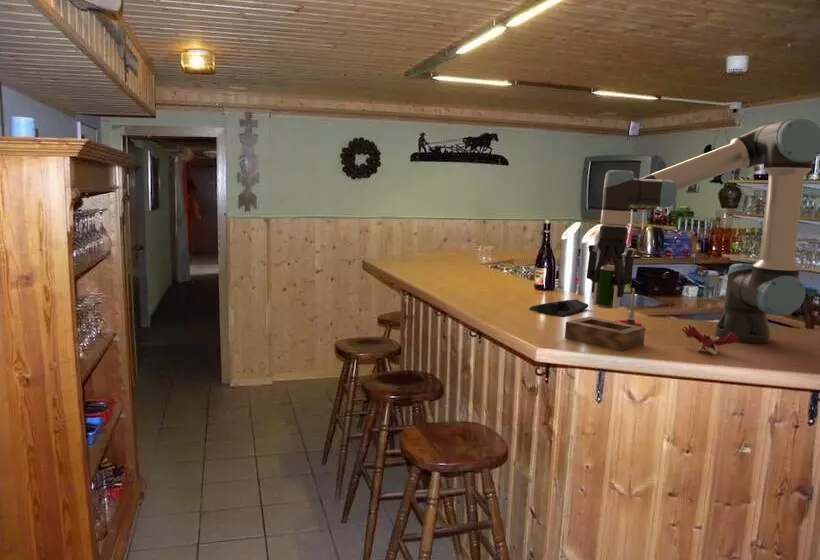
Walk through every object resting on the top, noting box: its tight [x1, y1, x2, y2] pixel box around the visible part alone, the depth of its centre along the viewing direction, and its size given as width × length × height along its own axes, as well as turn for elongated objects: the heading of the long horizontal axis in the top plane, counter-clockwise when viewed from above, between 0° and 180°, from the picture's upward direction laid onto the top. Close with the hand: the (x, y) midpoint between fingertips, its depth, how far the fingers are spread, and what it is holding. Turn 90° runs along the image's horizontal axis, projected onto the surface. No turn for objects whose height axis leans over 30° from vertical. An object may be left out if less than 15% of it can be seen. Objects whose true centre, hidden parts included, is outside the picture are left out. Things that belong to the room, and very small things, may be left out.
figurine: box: [681, 324, 739, 356], centre depth 176 cm, size 15×12×7 cm
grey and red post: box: [614, 287, 642, 327], centre depth 208 cm, size 8×13×9 cm
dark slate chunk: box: [528, 298, 589, 318], centre depth 229 cm, size 15×22×5 cm
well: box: [564, 316, 646, 352], centre depth 183 cm, size 18×13×5 cm
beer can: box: [596, 264, 617, 310], centre depth 181 cm, size 5×5×12 cm
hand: (605, 305), depth 182 cm, fingers closed on beer can, 5 cm apart
